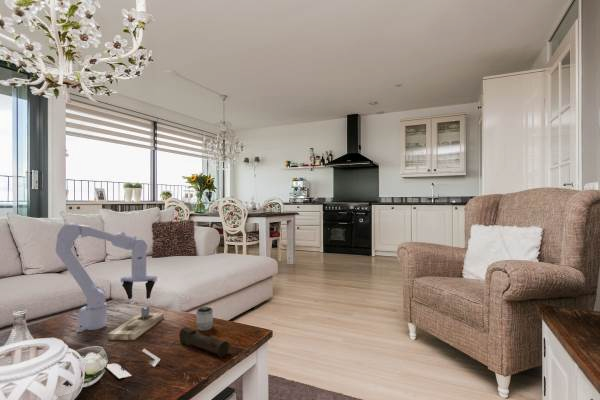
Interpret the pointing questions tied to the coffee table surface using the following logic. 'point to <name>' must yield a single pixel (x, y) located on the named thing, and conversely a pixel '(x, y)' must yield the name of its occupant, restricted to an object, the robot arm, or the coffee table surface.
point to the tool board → (135, 327)
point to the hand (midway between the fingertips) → (139, 298)
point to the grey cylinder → (145, 313)
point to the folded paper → (120, 371)
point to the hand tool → (203, 341)
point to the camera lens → (204, 318)
